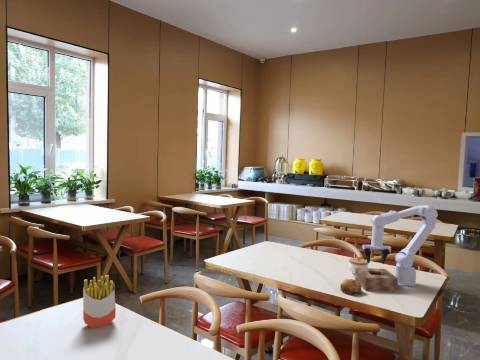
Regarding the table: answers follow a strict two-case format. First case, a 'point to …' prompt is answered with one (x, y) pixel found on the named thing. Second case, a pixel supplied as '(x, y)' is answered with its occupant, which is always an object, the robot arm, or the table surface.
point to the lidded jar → (357, 264)
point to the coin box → (376, 279)
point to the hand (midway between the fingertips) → (375, 262)
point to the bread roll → (350, 287)
